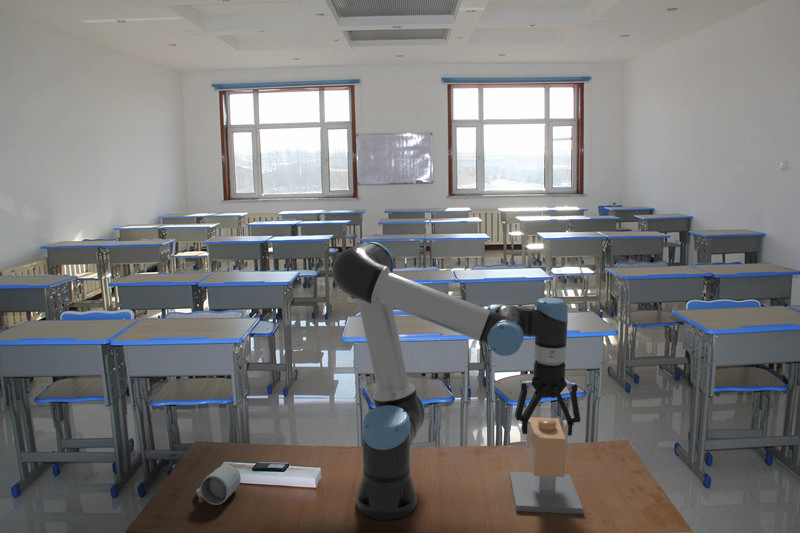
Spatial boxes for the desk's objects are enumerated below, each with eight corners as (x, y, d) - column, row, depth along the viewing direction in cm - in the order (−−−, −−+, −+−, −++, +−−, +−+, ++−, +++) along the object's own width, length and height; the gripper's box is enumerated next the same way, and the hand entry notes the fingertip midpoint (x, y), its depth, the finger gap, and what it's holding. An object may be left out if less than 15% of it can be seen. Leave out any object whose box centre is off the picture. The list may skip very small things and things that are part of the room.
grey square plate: (516, 511, 141) (517, 473, 140) (509, 476, 157) (510, 442, 156) (582, 514, 140) (584, 476, 138) (569, 479, 156) (571, 444, 154)
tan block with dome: (527, 452, 153) (529, 411, 151) (555, 453, 153) (557, 412, 151) (533, 475, 142) (535, 431, 140) (564, 477, 141) (566, 432, 139)
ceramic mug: (243, 489, 151) (241, 462, 150) (228, 506, 144) (226, 478, 142) (206, 485, 154) (204, 458, 152) (189, 502, 146) (187, 474, 144)
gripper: (507, 364, 140) (505, 451, 144) (597, 367, 138) (592, 455, 142) (504, 354, 147) (502, 437, 151) (590, 356, 145) (585, 440, 149)
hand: (546, 446), depth 146 cm, fingers open, 8 cm apart
